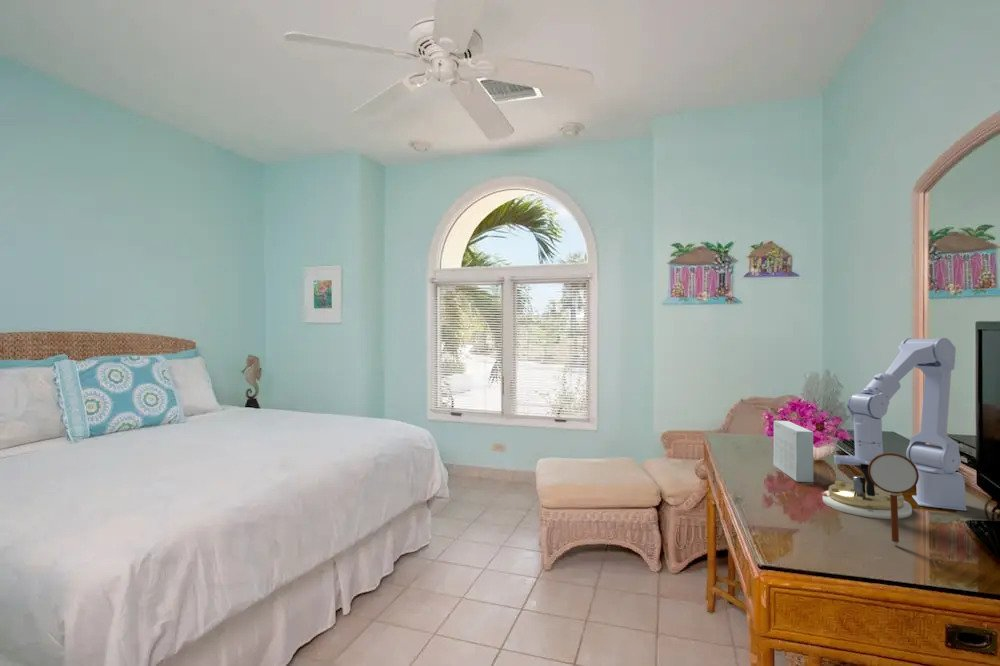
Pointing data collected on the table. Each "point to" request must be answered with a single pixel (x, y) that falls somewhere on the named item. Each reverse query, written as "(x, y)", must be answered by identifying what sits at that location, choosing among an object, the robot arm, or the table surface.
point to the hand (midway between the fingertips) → (870, 494)
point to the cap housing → (882, 514)
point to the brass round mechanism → (862, 495)
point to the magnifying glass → (893, 481)
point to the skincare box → (793, 450)
